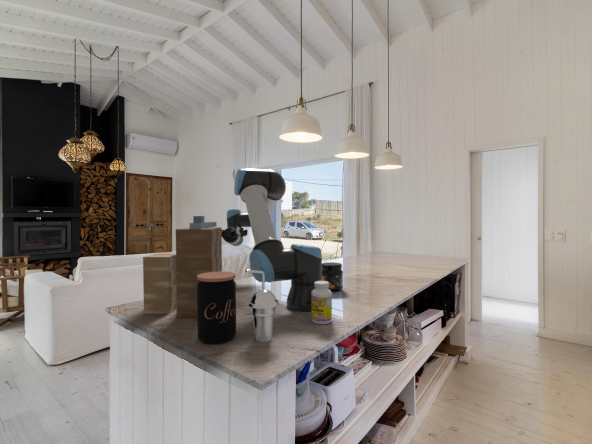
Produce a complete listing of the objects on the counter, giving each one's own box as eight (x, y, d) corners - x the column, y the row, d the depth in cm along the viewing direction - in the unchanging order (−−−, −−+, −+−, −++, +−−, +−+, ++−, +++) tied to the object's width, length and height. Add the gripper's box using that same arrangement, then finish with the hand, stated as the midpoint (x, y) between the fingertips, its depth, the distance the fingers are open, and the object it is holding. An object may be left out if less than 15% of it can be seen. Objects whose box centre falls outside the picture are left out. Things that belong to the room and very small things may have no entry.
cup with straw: (279, 344, 87) (278, 270, 86) (245, 345, 86) (244, 270, 86) (278, 332, 95) (277, 265, 95) (247, 333, 95) (246, 265, 94)
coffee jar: (201, 348, 84) (200, 280, 84) (194, 334, 94) (193, 273, 93) (241, 340, 89) (240, 276, 89) (230, 328, 99) (229, 270, 98)
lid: (206, 226, 130) (206, 215, 130) (216, 226, 130) (216, 215, 130) (189, 229, 110) (189, 216, 110) (201, 229, 110) (201, 216, 110)
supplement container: (315, 290, 147) (315, 264, 147) (327, 286, 156) (327, 261, 156) (336, 293, 141) (336, 266, 141) (346, 289, 150) (346, 263, 150)
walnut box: (190, 305, 123) (189, 227, 123) (222, 305, 123) (222, 227, 122) (176, 317, 109) (174, 229, 108) (212, 318, 109) (211, 229, 108)
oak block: (160, 302, 127) (159, 252, 127) (183, 303, 127) (182, 252, 127) (143, 313, 114) (143, 257, 113) (169, 313, 114) (168, 257, 113)
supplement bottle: (307, 321, 105) (307, 282, 105) (319, 316, 110) (319, 279, 110) (323, 326, 100) (323, 285, 100) (335, 321, 105) (335, 282, 105)
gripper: (255, 244, 162) (249, 238, 141) (206, 242, 162) (192, 237, 141) (256, 229, 163) (250, 221, 142) (207, 228, 163) (194, 220, 143)
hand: (221, 229), depth 142 cm, fingers open, 13 cm apart
